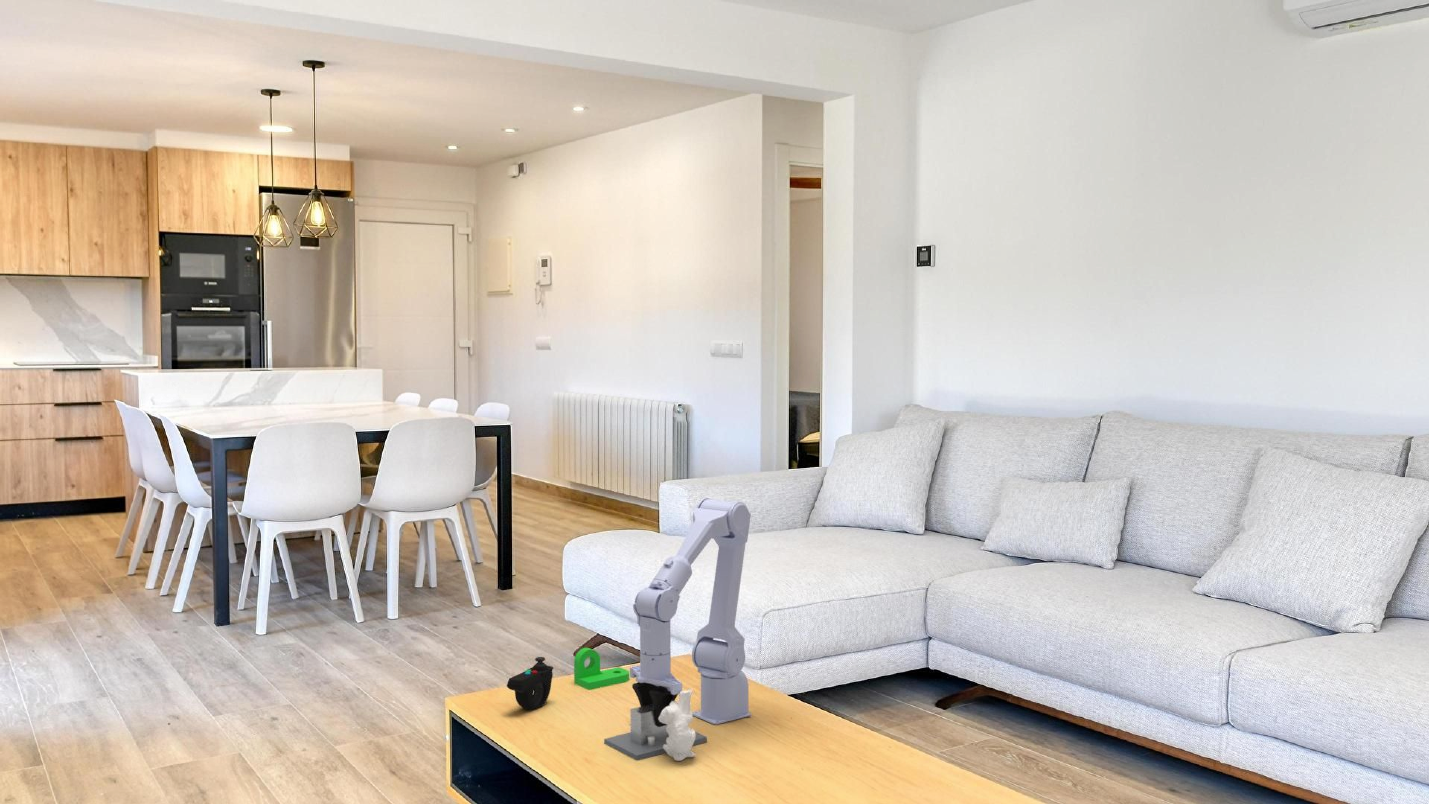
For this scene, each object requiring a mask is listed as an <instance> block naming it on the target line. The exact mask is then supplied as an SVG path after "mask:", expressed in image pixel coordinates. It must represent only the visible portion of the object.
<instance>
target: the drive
mask: <svg viewBox="0 0 1429 804" xmlns="http://www.w3.org/2000/svg"><path fill="white" fill-rule="evenodd" d="M629 713H630V732H631V741H633V742H635V743H637V744H639V745H641V746H642V745H645V744H648V737H649V736H654V737H655V742H657V741H661V740H665V739H667V738H668V737H669V734H668V733H667V731H666V727H667V726H668V725H665V726H661V727H657V726H656V722H655V711H654V705H653V704H650V705H646V706H642V707H641V706H638V707H633V708H630V712H629Z"/></svg>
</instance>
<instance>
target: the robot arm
mask: <svg viewBox="0 0 1429 804" xmlns="http://www.w3.org/2000/svg"><path fill="white" fill-rule="evenodd" d="M750 524H751V512H750V511H749V509H748V506H746V504H745V503H744V502H743V501H731V500H730V501H729V500H721V499H713V498H708V497H704V498H701V499H700V500H699V501H698V503H697V504H696V507H695V509H694V510H693V512H692V525H691V527H690V529H689V531H688V533H687V534H686V536H685V538H684V540H683V542H682V543H681V545H680V547H679V549H678V551H677V553H676V555H673V556H669V557H667V558H666V559H665V561H664V562H663V564H662V565H661V567H660V568H659V570H658V571H657V573H656V575H655V576H654V578H653V579H652V581H651V582H650V584H649V585H648V587H644V588H642V589H641V590H639V592H638V593H637V594H636V596H635V598H634V603H633V604H632V607H633V611H634V614H635V615H636V619H637V625H638V626H639V632H640V633H639V640H640V641H639V650H640V651H639V652H640V653H639V657H640V658H639V661H640V664H639V665H633V666H630V667H629V678H632V679H635V683H632V686H631V688H632V689H633V691H634V693H635V695H636V697H637V699H638V702H639V705H640V706H639V707H642V706H646V705H650V704H653V705H654V711H655V722H656V726H657V727H661V726H665V725H667V724H664V723H661V722H660V721H659V719H658V718H659V716H660V714H661V712H662V710H663V709H664V708H665V707H667V706H670V703H671V702H672V701H676V698H677V697H678V696H679V695H680V692H681V691H683V682H681V681H679V680H678V679H677V678H676V677H675V676H674V675H673V674H672V673H671V669H672V668H671V660H672V659H671V652H672V651H671V619H673V617H674V616H676V614H677V611H678V604H679V601H680V597H681V596H680V594H681V593H682V591H683V589H684V588H685V586H686V584H687V583H688V582H689V580H690V578H691V577H692V575H693V569H692V564H693V563H694V562H695V561H696V559H697V558H698V557H699V555H700V554H701V553H702V552H703V550H704V548H705V547H706V546H708V543H709V542H710V541H711V540H712V539H713V540H714V541H715V544H716V545H717V546H718V551H717V558H716V567H715V572H714V573H715V574H714V582H713V588H712V596H711V604H710V609H709V610H710V611H709V618H708V623H707V624H706V625H704V627H702V628H700V629H699V630H698V631H697V636H696V640H695V643H694V645H693V647H692V650H691V660H692V663H693V665H694V667H696V668H697V673H699V674H700V710H698V711H697V710H696V711H692V715H693V717H695V718H698V719H701V720H703V721H705V722H707V723H709V724H712V725H715V726H716V725H720V724H724V723H728V722H731V721H735V720H739V719H743V718H747V717H751V716H752V713H751V712H749V681H748V678H747V676H746V674H745V673H744V671H742V669H743V668H744V667H745V666H744V665H745V662H746V652H745V641H746V640H745V637H744V636H743V635H742V634H741V632H739V631H738V629H737V628H736V619H737V618H736V617H737V609H738V603H739V595H740V588H741V581H742V580H741V579H742V572H743V567H744V558H745V553H746V552H745V551H746V544H747V542H748V539H749V530H750ZM722 640H723V641H722Z"/></svg>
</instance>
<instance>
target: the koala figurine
mask: <svg viewBox="0 0 1429 804" xmlns="http://www.w3.org/2000/svg"><path fill="white" fill-rule="evenodd" d="M693 691H694V689H691V688H689V689H687V690H682V691H681V692H680V694H678V701H676V700H675V701H672V702H671V703H670V706H667V707H665V708H664V709H663V710H662V712H661V714H660V716H659V718H658V719H659V721H660V722H661V723H664V724H667V725H668V726H667V727H666V731H667V733H668V734H669V737H668V738H667V739H666V743H667V745H666V744H664V745H663V749H664V750H665V751H666V752H667V753H666V754H667V755H668V756H669V757H671V758H673V759H674V761H677V762H680V761H683V760H684V759H686V758H693V757H696V753H695V752H693V751H692V750H691V749H692V747H693V743H694V741H695V737H696V734H695V732H696V731H695V729H694V728H690V727H689V724H691V723H692V722H693V718H694V716H693V715H692V713H693V711H692V710H691V698H692V697H691V696H692V695H693Z"/></svg>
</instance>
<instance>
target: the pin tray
mask: <svg viewBox="0 0 1429 804" xmlns="http://www.w3.org/2000/svg"><path fill="white" fill-rule="evenodd" d="M695 734H696V737H695V741H694V743H693V746H697V745H702V744H705V743H707V742H708V736H706V735H704V734H701V733H699V732H697V731H695ZM603 740H604V741H603V743H604V744H605V745H606V746H608V747H610V748H612V749H614V750H616V751H618V752H620V753H621V754H623V755H626V756H627V757H629V758H631V759H633V760H635V761H642V760H645V759H648V758H653V757H657V756H660V755H664V754H667V752H666V751H665V750H664V749H663V745H664V744H666V745H667V743H666V739H665V740H661V741H657V742H655V737H654V736H649V737H648V744H645V745H642V746H641V745H639V744H637V743H635V742H633V741H631V731H629V732H626V733H624V734H623V733H622V734H619V735H615V736H614V735H613V736H610V737H606V738H603ZM693 746H692V747H693Z"/></svg>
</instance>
